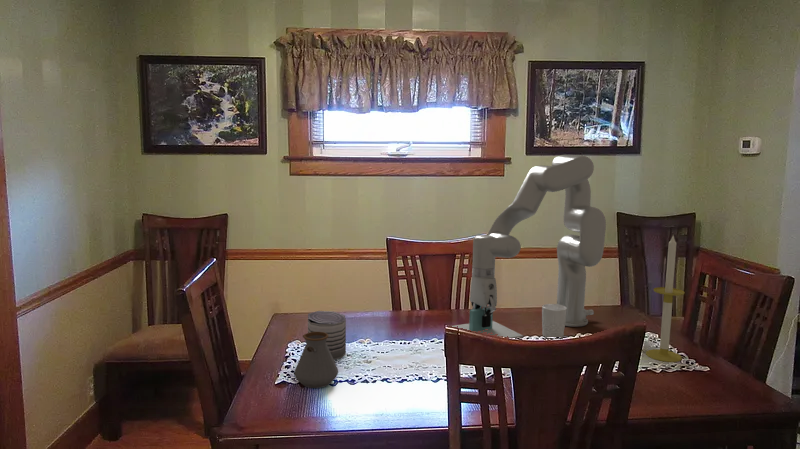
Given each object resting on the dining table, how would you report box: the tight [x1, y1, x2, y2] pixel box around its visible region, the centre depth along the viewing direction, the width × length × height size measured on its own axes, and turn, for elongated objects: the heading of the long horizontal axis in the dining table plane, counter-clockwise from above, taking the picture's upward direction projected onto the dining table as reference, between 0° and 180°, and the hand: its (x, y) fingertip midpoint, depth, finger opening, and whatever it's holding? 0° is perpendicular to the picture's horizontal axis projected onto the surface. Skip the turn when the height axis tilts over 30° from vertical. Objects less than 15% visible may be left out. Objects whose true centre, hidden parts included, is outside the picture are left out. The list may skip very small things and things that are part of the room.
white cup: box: [541, 303, 567, 340], centre depth 191 cm, size 8×8×10 cm
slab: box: [468, 307, 494, 331], centre depth 196 cm, size 8×2×7 cm, turn 115°
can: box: [307, 310, 347, 361], centre depth 172 cm, size 11×11×12 cm
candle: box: [645, 235, 685, 363], centre depth 172 cm, size 10×10×38 cm
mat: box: [451, 320, 524, 339], centre depth 194 cm, size 19×18×1 cm
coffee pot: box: [293, 332, 339, 389], centre depth 147 cm, size 21×12×15 cm, turn 1°
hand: (481, 324), depth 196 cm, fingers open, 4 cm apart
